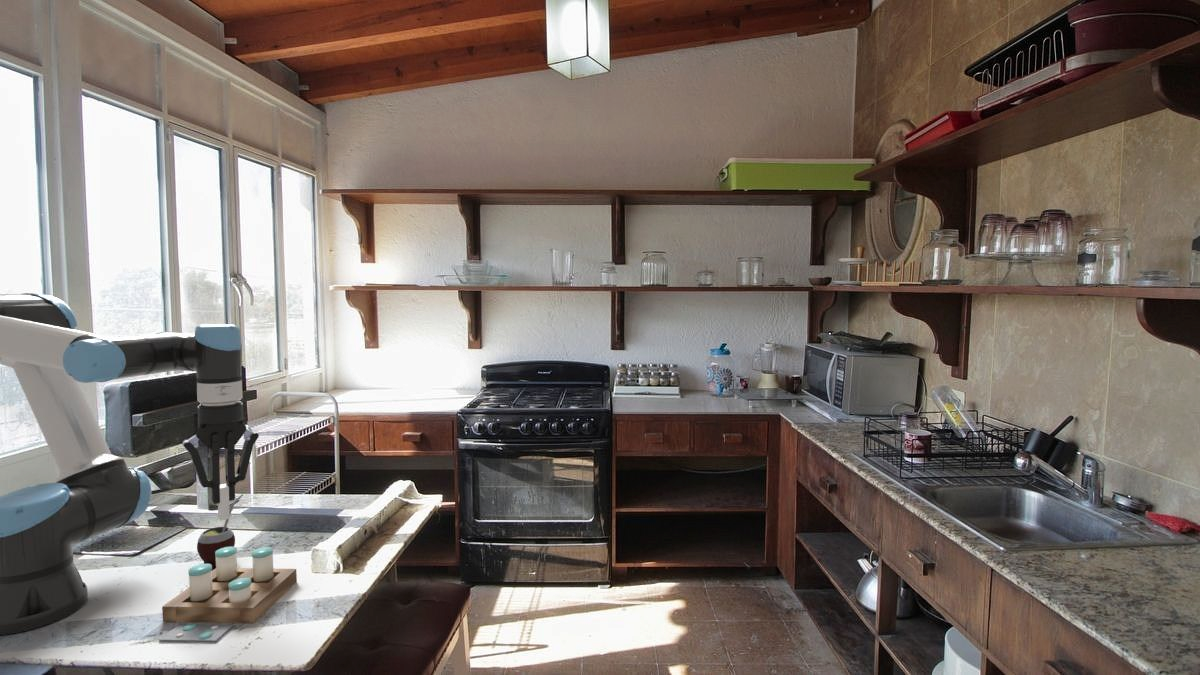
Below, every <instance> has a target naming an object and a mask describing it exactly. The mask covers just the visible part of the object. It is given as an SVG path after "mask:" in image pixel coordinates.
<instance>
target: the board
mask: <svg viewBox="0 0 1200 675" xmlns="http://www.w3.org/2000/svg"><path fill="white" fill-rule="evenodd" d="M273 573H274V576H273V577H272V578H271V579H269V580H266V581H262V582H256V581H254V580H253V567H252V568H251V567H250V568H249V567H248V568H246V567H245V568H244V567H237V574H238V575H237V577H235V578H233V579H231V580H228V581H217V576H216V568H215V569H214V570H213V571H212V585H213V595H212V596H211V597H209V598H207V599H205V600H201V601H191V600H190V586H189V587H187V588H186V589H184V590H183V591H182V592H180V593H179V594H178V595H176V596H174V598H172V599H171V600H170V601H168V602H166V603H165V604H164V605H162V606H161V610H162V613H161V614H162V623H199V624H254V623H256V622H257V621H258V620H259V619H260V618H261V617H262V616H263V615H264V614H265V613H266V612H267V611H268V610H270V608H272V606H274V605H275V604H276V603H277V602H278V601H279V600H280V599H282V597H283V596H284V595H285V594H287V592H289V591H290V590H291V589H292V588H293V587H294V586H295V585H296V584H297V583H298V581H297V580H298V578H297V575H298V574H297V568H273ZM239 578H250V579H251V598H250V599H249V600H248V601H247V602H246V603H229V589H228V584H229V583H230V582H231V581H233V580H236V579H239Z"/></svg>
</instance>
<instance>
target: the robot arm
mask: <svg viewBox="0 0 1200 675" xmlns="http://www.w3.org/2000/svg"><path fill="white" fill-rule="evenodd" d="M76 327H78V320H77V318H76V316H75V314H74V312H73V310H72V308H70V306H69V305H68V304H67V303H65V302H64V301H63V300H62V299H60V298H58V297H55V296H52V295H48V294H37V293H30V292H26V293H10V294H9V293H8V294H7V293H5V294H3V293H1V294H0V365H3V366H6V367H9V368H11V369H13V371H14V373H15V376H16V378H17V380H18V382H19V385H20V386H21V389H22V392H23V394H24V395H25V397H26V400H27V402H28V405H29V406H30V409H31V411H32V413H33V415H34V418H35V419H36V422H37V424H38V426H39V429H40V431H41V434H42V435H43V437H44V440H45V442H46V445H47V446H48V448H49V451H50V453H51V456H52V458H53V459H54V462H55V464H56V466H57V468H58V471H59V474H58V476H57V477H56V479H55V480H54V482H45V483H40V484H36V485H34V486H26V487H23V488H20V489H16V490H14V491H10V492H8V493H6V494H4V495H2V496H0V636H5V635H11V634H17V633H22V632H26V631H31V630H34V629H37V628H41V627H44V626H47V625H50V624H52V623H56V622H58V621H60V620H61V619H64V618H66V617H68V616H70V615H72V614H74V613H76V612H77V611H78V610H80V609H82V607H83V606H85V605H86V603H87V602H88V599H89V594H88V586H87V584H86V583H85V582H84V581H83V579H82V577H81V574H80V572H79V570H78V568H77V567H76V565H75V563H74V551H73V550H74V548H73V546H74V545H76V544H79V543H81V542H84V541H86V540H89V539H92V538H93V537H94V538H95V537H97V536H99V535H101V534H105V533H107V532H109V531H112V530H114V529H119V528H122V527H123V526H125V525H127V524H129V523H131V522H134V521H135V520H137V519H139V518H140V517H141V516H143V514H144V513H145V512H146V511H147V509H148V507H149V503H150V502H151V499H152V485H151V484H152V483H151V481H150V479H149V477H148V475H147V474H146V472H145V471H143V470H140V468H138V467H133V466H127V463H126V461H125V459H124V458H123V457H121V456H117V455H114V454H112V452H111V450H110V448H109V446H108V444H107V443H108V442H106V439H105V437H104V434H103V432H102V430H101V427H100V426H99V423H98V421H97V419H96V417H95V414H94V413H93V411H92V408H91V406H90V403H89V401H88V399H87V397H86V395H85V392H84V390H83V388H82V386H81V383H82V384H83V383H85V384H87V383H106V382H110V381H114V380H119V379H128V378H133V377H138V376H147V375H154V374H161V373H168V372H177V371H179V372H196V396H197V397H196V398H197V400H196V401H197V402H198V403H200V404H199V405H198V406H197V428H196V430H195V434H194V435H192V436H191V437H190V438H188V439H183V441H182V442H181V444H182V446H183V447H184V449H185V450H187V452H188V454H189V455H190V459H191V461H192V464H193V468H194V470H195V474H196V476H197V478H198V482H199V484H200V485H201V487H202V488H210V493H211V501H212V503H213V504H214V505H217V514H218V515H217V516H218V518H219V520H220V521H224V520H225V521H226V519H229V520H230V519H231V518H230V517H231V514H230V510H229V507H230V502H231V501H235V500H236V485H237V483H239V482H243V481H244V480H245V479H246V477H247V473H248V468H249V463H250V462H251V461H250V460H251V456H252V451H253V448H254V444H256V442H257V440H258V438H259V437H260V435H259V433H258V432H256V431H255V430H250V429H248V428H247V426H246V425H247V424H245V422H244V406H243V405H244V404H243V402H242V401H241V400H242V399H243V376H242V374H243V373H242V372H243V371H242V355H243V354H242V350H243V349H242V348H243V343H242V338H241V330H240V328H239V327H238V326H237V325H235V324H229V323H228V324H226V323H224V324H223V323H221V324H220V323H218V324H217V323H215V324H213V323H211V324H210V323H209V324H200V325H199V324H198V325H196V327H195V329H194V333H184V332H173V331H158V332H152V333H148V334H145V335H131V336H130V335H129V336H110V335H109V336H108V335H102V334H97V333H93V332H87V331H83V330H77V329H76ZM242 437H243V440H244V442H243V445H242V449H241V452H240V457H239V461H238V465H237V469H235V468H236V463H235V462H236V461H235V459H236V458H235V452H236V448H235V446H236V445H237V443H238V442H239V441H240V440H241V438H242ZM199 441H200V442H201V443H202V444H203V445H204V446H205V447H206V448H208V451H209V473H210V478H209V479H208V475H207V473H206V470H205V467H204V464H203V462H202V459H201V456H200V452H199V451H198V448H199ZM221 449H224V464H225V465H224V467H225V469H224V470H225V483H221V472H220V470H221V468H220V454H221V451H220V450H221Z"/></svg>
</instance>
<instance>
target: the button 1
mask: <svg viewBox="0 0 1200 675" xmlns="http://www.w3.org/2000/svg"><path fill="white" fill-rule="evenodd" d="M188 582H189V583H188V585H189V587H190V600H191V601H201V600H205V599H207V598H209V597H211V596H212V595H213V585H212V565H211V564H203V563H201V564H197V565H194V566H192V567H190V568H189V569H188Z"/></svg>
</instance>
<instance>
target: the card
mask: <svg viewBox="0 0 1200 675" xmlns="http://www.w3.org/2000/svg"><path fill="white" fill-rule="evenodd" d="M234 627H235V623H194V622H179V623H178V624H177V625H176V626H175V627H174V628H172V629H171V630H169V631H168V632H167V633H166V634H164V636H162V637H161V638H159V640H158V642H159V643H203V644H204V643H213V644H214V643H215V644H216V643H217V642H219V640H221V639H222V638H223V637H224V636H225V635H226V634H228V632H230V630H232V628H234Z"/></svg>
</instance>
